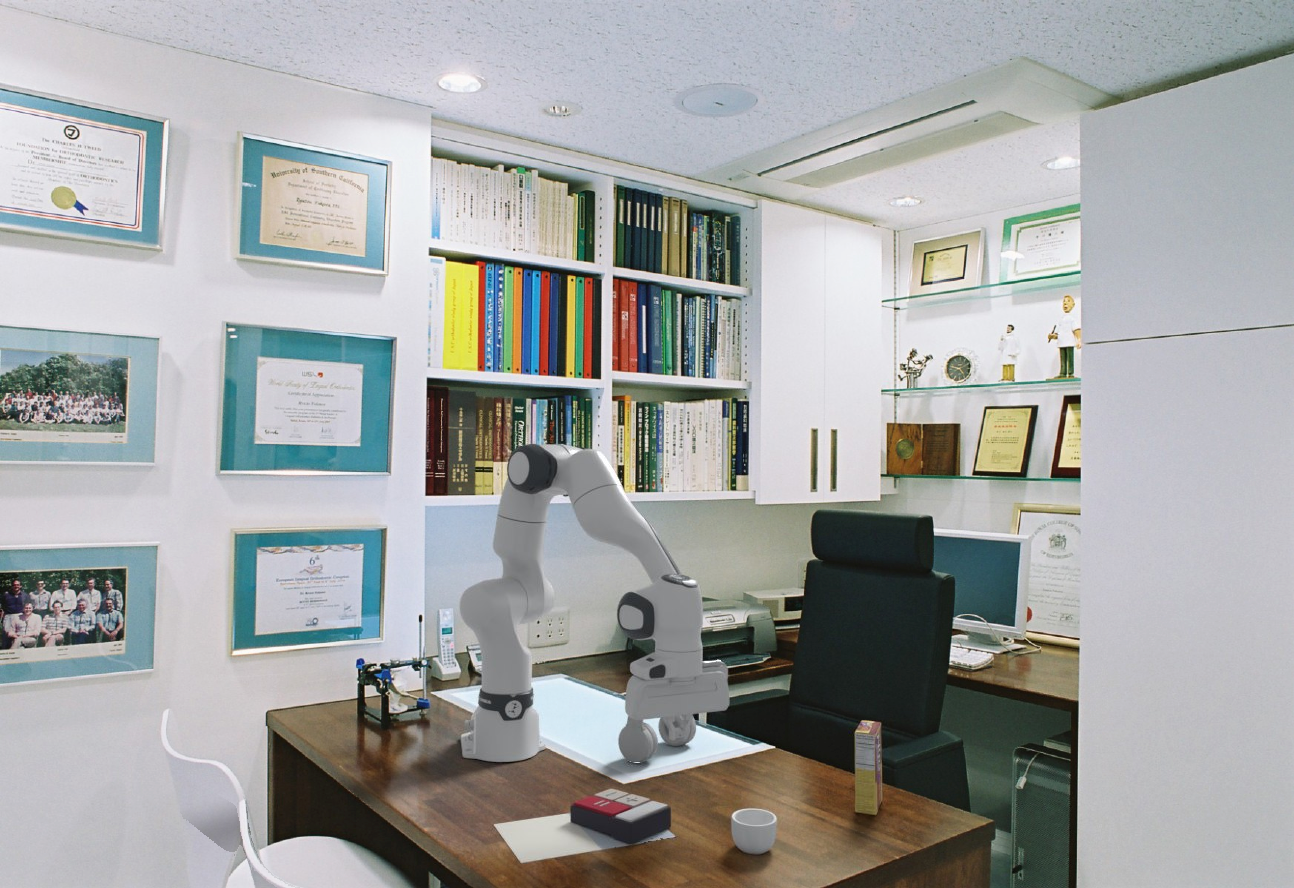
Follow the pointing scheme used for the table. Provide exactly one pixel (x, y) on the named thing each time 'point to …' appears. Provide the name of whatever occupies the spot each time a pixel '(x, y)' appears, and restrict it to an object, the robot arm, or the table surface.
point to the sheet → (558, 838)
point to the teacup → (754, 830)
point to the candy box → (868, 767)
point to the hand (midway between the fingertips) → (677, 738)
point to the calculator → (621, 815)
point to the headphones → (648, 738)
